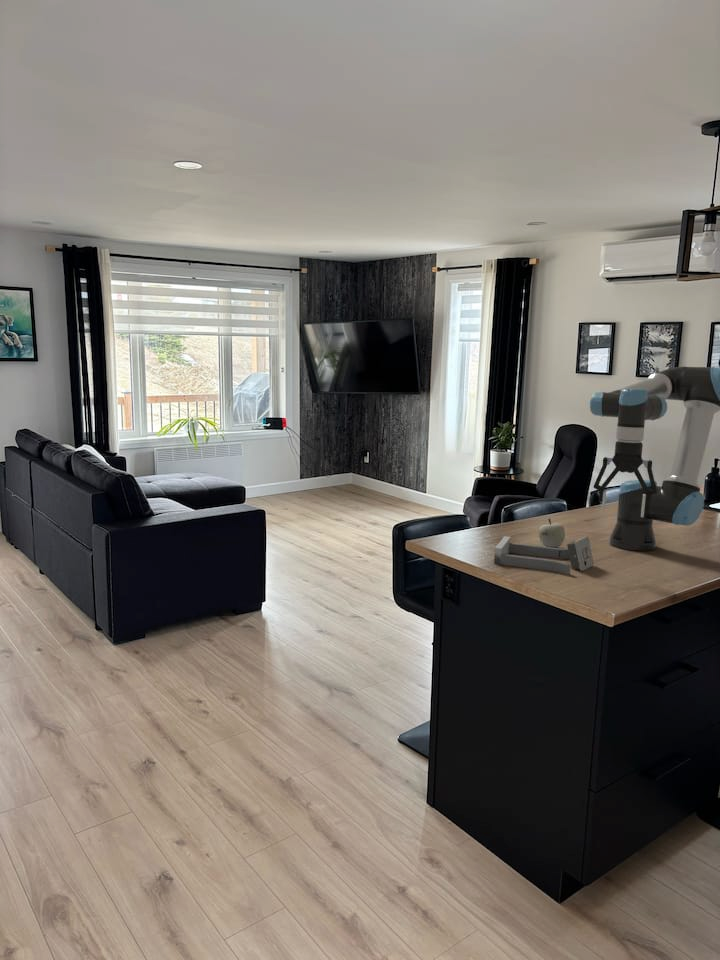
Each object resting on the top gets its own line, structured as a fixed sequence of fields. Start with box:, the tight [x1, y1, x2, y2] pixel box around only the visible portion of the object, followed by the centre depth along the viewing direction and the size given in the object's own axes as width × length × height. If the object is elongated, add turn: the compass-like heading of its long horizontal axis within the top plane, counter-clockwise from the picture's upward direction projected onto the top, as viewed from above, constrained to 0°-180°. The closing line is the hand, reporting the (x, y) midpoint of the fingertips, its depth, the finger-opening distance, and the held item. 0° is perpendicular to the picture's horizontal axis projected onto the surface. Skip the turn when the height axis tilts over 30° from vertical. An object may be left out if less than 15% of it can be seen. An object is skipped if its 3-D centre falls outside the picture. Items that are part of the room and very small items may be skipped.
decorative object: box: [538, 518, 566, 548], centre depth 240 cm, size 9×9×10 cm
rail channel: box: [493, 535, 575, 576], centre depth 223 cm, size 23×21×5 cm
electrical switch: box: [566, 536, 595, 572], centre depth 218 cm, size 9×5×9 cm, turn 141°
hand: (622, 514), depth 212 cm, fingers open, 10 cm apart
